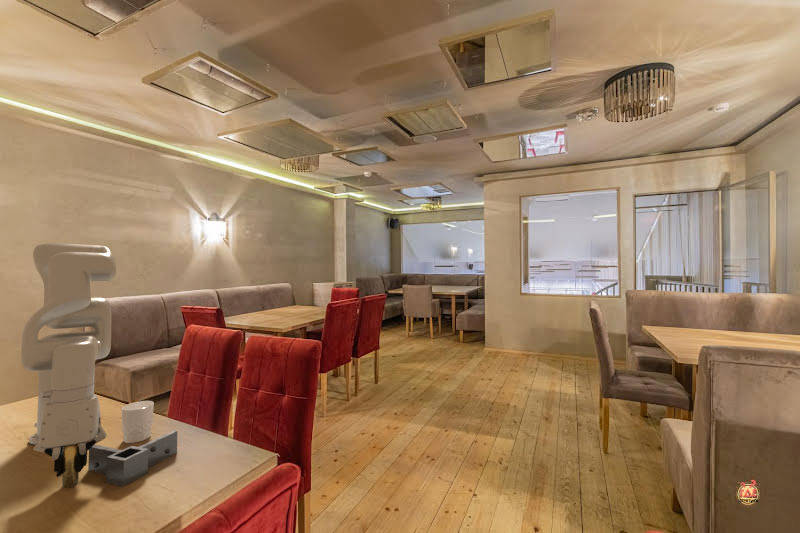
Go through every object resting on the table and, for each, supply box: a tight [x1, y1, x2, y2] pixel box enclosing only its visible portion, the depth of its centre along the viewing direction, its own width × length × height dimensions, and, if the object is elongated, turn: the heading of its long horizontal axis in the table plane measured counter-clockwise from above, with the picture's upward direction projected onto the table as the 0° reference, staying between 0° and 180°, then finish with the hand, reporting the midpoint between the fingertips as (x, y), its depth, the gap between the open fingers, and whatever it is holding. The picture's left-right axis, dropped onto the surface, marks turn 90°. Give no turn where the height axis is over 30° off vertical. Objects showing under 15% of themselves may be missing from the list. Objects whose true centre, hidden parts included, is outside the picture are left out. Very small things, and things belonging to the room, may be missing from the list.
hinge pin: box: [61, 444, 80, 489], centre depth 82 cm, size 4×4×13 cm
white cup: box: [121, 400, 155, 444], centre depth 106 cm, size 8×8×10 cm
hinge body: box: [87, 430, 178, 487], centre depth 91 cm, size 16×16×6 cm
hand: (70, 470), depth 82 cm, fingers closed on hinge pin, 2 cm apart
